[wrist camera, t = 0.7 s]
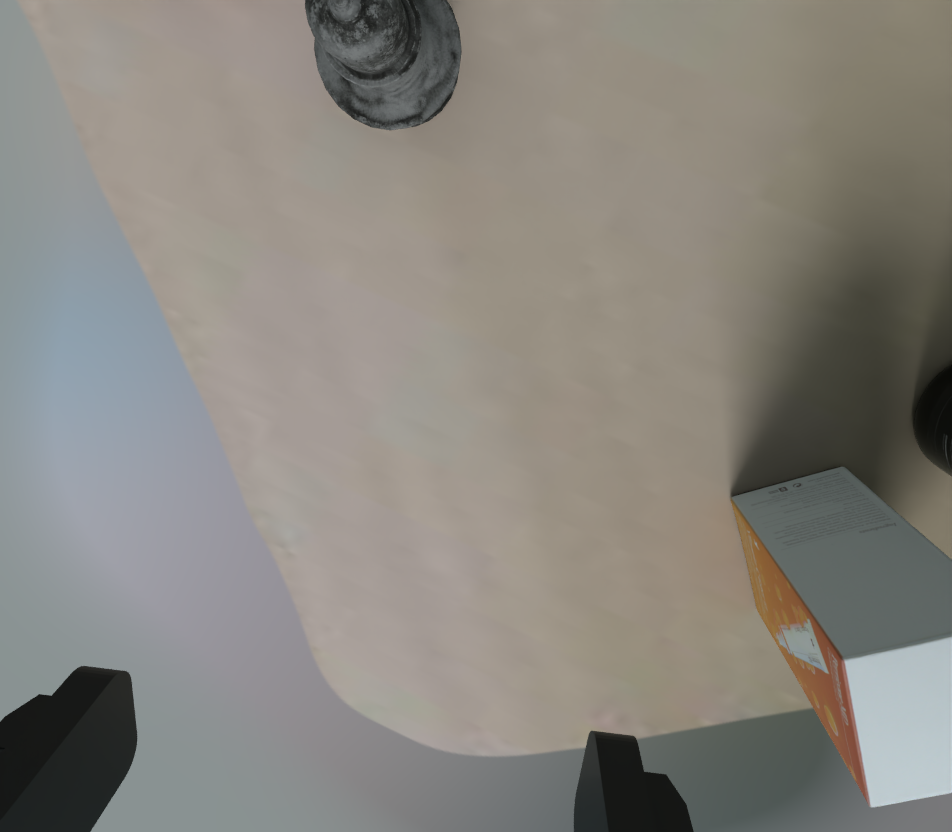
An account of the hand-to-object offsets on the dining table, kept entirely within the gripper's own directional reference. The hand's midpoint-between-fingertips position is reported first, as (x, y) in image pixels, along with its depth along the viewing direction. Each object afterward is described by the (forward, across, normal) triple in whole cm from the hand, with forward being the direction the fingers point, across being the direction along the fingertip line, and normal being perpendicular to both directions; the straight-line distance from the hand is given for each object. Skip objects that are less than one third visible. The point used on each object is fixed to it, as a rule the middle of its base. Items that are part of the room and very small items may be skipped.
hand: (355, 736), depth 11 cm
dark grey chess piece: (+24, +4, -13) cm, 28 cm away
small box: (+25, -20, +8) cm, 33 cm away
